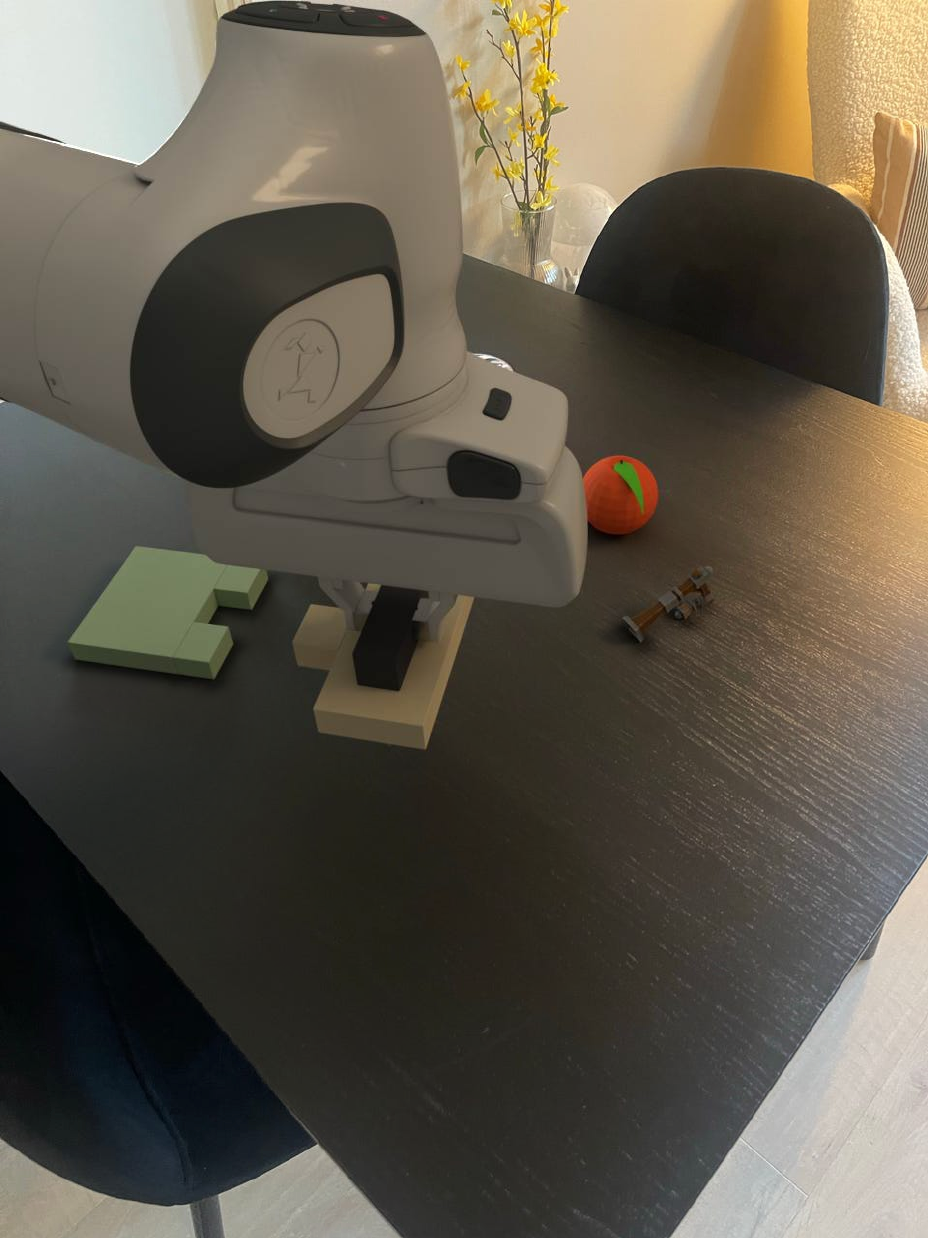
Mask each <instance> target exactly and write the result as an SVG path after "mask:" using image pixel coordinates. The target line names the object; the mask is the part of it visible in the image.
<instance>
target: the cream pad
mask: <svg viewBox="0 0 928 1238" xmlns="http://www.w3.org/2000/svg"><path fill="white" fill-rule="evenodd" d="M365 590H367V591H374V592H378V594H377V596H376V598H375V601H374V603H373V605H372V608H371V610H370V612H369V615H368V617H367V619H366V622H365V624H364V627H363V629H362V631H361V632H359V631H351V630H348V629H347V625H346V620H345V614H344V610H341V609H340V608H339V607H333V606H328V605H319V604H310V605H309V607H308V609H307V611H306V614H305V615H304V617H303V619H302V621H301V623H300V626H299V628H298V629H297V631H296V633H295V636H294V638H293V640H292V641H291V643H292V647H293V651H294V656H295V660H296V665H297V666H298V667H303V668H311V669H315V670H316V669H317V670H323V671H329V672H328V674H327V677H326V678H325V681H324V683H323V685H322V687H321V690H320V692H319V695H318V697H317V698H316V702H315V704H314V706H313V708H312V709H313V715H314V719H315V723H316V728H317V732H318V733H320V734H326V735H331V736H339V737H345V738H351V739H356V740H357V739H358V740H364V741H370V742H376V743H381V744H387V745H395V746H399V747H400V746H401V747H407V748H413V749H418V750H424V751H425V750H426V749H427V747H428V745H429V741H430V737H431V734H432V732H433V729H434V725H435V722H436V719H437V715H438V713H439V710H440V706H441V703H442V700H443V697H444V694H445V692H446V688H447V685H448V681H449V678H450V675H451V672H452V669H453V665H454V663H455V660H456V656H457V653H458V650H459V646H460V644H461V640H462V638H463V634H464V631H465V628H466V625H467V622H468V618H469V615H470V612H471V610H472V606H473V603H474V600H475V597H469V596H462V595H458V597H457V600H456V603H455V605H454V606H453V608H452V609H451V610H450V611H449V612H448V614H447V615H446V624H445V629H444V632H443V635H442V638H441V641H440V642H439V643H436V642H429V641H423V640H417V639H414V635H413V633H414V630H413V625H412V618H413V616H414V613H415V611H416V610H417V605H418V603H419V600H420V598H427V599H429V593H428V591H424V590H416V589H408V588H401V587H393V586H385V585H378V584H370V583H367V586H366V588H365Z"/></svg>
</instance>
